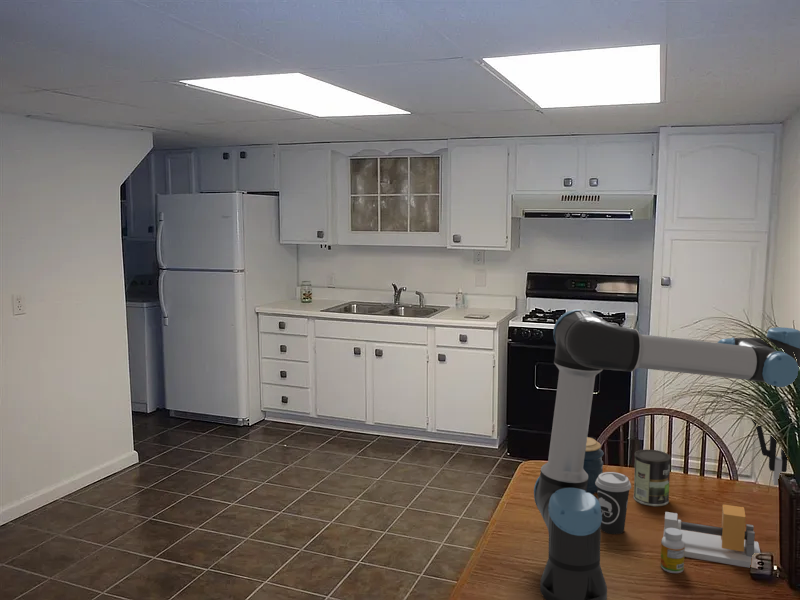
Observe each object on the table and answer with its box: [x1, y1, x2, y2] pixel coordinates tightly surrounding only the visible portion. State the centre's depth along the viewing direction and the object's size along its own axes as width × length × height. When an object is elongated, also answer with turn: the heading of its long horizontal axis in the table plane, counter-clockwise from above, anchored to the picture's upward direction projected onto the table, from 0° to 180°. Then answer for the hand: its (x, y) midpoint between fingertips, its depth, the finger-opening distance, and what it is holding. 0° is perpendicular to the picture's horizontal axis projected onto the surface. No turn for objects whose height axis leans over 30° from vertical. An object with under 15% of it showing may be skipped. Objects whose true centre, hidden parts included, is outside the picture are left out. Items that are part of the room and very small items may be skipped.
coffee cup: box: [595, 471, 632, 535], centre depth 190 cm, size 10×10×15 cm
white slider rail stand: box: [662, 511, 761, 569], centre depth 178 cm, size 12×23×8 cm, turn 67°
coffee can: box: [633, 449, 672, 507], centre depth 209 cm, size 10×10×14 cm
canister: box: [583, 436, 605, 495], centre depth 219 cm, size 13×13×18 cm
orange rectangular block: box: [720, 504, 747, 552], centre depth 176 cm, size 6×5×9 cm
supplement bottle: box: [660, 528, 685, 574], centre depth 170 cm, size 5×5×10 cm
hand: (776, 483), depth 171 cm, fingers closed
